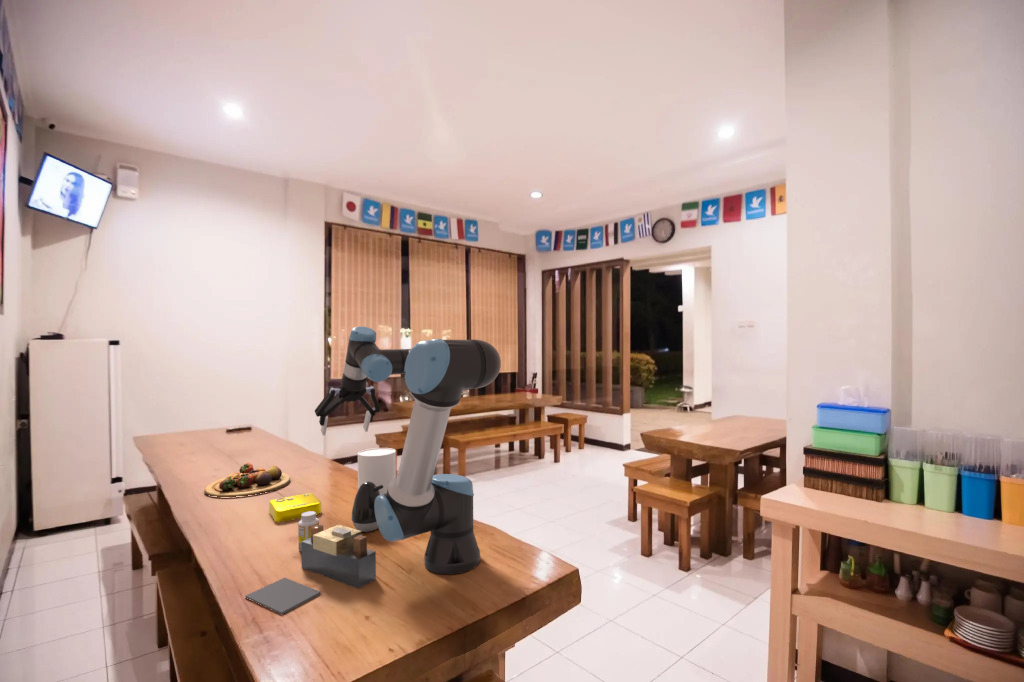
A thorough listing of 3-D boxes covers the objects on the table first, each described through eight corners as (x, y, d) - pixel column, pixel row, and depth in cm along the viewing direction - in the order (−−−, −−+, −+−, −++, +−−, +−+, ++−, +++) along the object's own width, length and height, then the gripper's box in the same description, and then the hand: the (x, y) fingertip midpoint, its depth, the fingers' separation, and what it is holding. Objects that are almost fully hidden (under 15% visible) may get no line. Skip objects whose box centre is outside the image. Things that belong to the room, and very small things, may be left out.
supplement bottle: (321, 544, 141) (321, 509, 141) (315, 552, 136) (315, 516, 136) (302, 545, 141) (302, 510, 141) (295, 553, 135) (295, 517, 135)
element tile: (275, 524, 158) (275, 510, 158) (268, 512, 170) (268, 498, 170) (322, 514, 167) (322, 501, 167) (312, 503, 179) (312, 490, 179)
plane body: (375, 579, 120) (375, 535, 120) (358, 588, 115) (358, 543, 115) (319, 559, 131) (319, 519, 131) (301, 567, 126) (301, 526, 126)
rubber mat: (320, 594, 113) (320, 591, 113) (281, 615, 104) (281, 612, 104) (284, 579, 120) (284, 577, 120) (245, 598, 111) (245, 595, 111)
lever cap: (361, 544, 124) (361, 527, 124) (336, 556, 117) (336, 538, 117) (338, 537, 129) (338, 521, 129) (313, 548, 122) (312, 531, 122)
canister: (398, 509, 171) (398, 453, 171) (359, 514, 166) (358, 457, 166) (393, 498, 183) (393, 446, 183) (356, 502, 178) (356, 449, 178)
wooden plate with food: (217, 480, 211) (217, 462, 211) (295, 473, 221) (294, 455, 221) (192, 505, 181) (192, 483, 181) (284, 495, 190) (283, 474, 190)
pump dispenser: (375, 536, 147) (375, 487, 147) (345, 534, 149) (344, 485, 149) (390, 524, 157) (390, 478, 157) (361, 522, 159) (361, 476, 159)
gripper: (390, 368, 157) (378, 421, 164) (310, 368, 142) (301, 427, 150) (397, 379, 152) (385, 434, 159) (316, 381, 137) (306, 441, 144)
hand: (344, 431), depth 154 cm, fingers open, 13 cm apart
